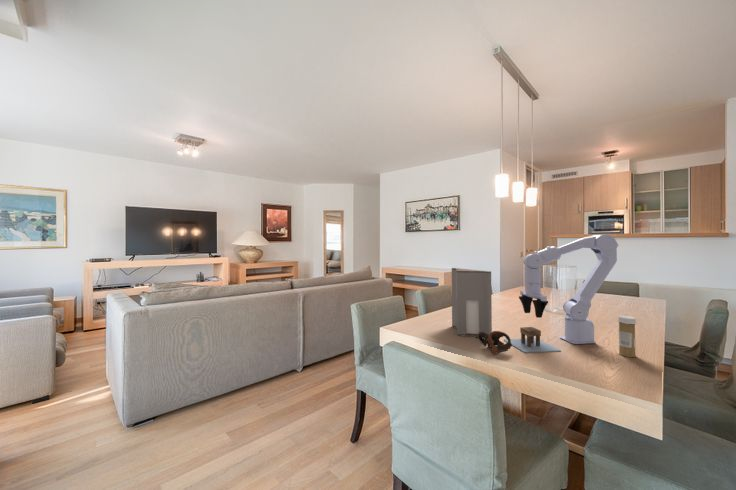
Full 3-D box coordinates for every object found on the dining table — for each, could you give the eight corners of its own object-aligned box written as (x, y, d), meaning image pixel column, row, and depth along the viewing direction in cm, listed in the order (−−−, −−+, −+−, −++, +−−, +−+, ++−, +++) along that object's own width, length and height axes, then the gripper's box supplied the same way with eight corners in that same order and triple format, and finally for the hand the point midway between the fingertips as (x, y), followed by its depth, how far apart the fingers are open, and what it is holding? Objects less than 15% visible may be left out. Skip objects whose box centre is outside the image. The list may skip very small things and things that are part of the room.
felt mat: (536, 339, 122) (536, 338, 122) (561, 351, 109) (561, 350, 109) (503, 340, 121) (503, 339, 121) (524, 353, 107) (524, 351, 107)
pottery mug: (511, 349, 113) (515, 334, 108) (505, 367, 106) (509, 352, 102) (479, 336, 119) (482, 321, 115) (471, 353, 112) (474, 338, 108)
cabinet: (491, 338, 125) (491, 271, 124) (476, 342, 120) (475, 272, 120) (454, 326, 143) (454, 267, 142) (439, 329, 138) (438, 269, 138)
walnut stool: (532, 342, 118) (532, 326, 118) (540, 346, 113) (540, 330, 113) (520, 342, 117) (520, 327, 117) (528, 347, 112) (528, 331, 112)
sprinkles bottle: (639, 356, 103) (639, 318, 102) (629, 358, 102) (628, 319, 101) (625, 352, 107) (625, 315, 107) (615, 353, 106) (615, 315, 106)
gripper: (513, 280, 131) (513, 311, 131) (534, 285, 117) (535, 319, 117) (528, 280, 132) (529, 310, 132) (551, 285, 117) (551, 319, 117)
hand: (532, 315), depth 124 cm, fingers open, 7 cm apart
